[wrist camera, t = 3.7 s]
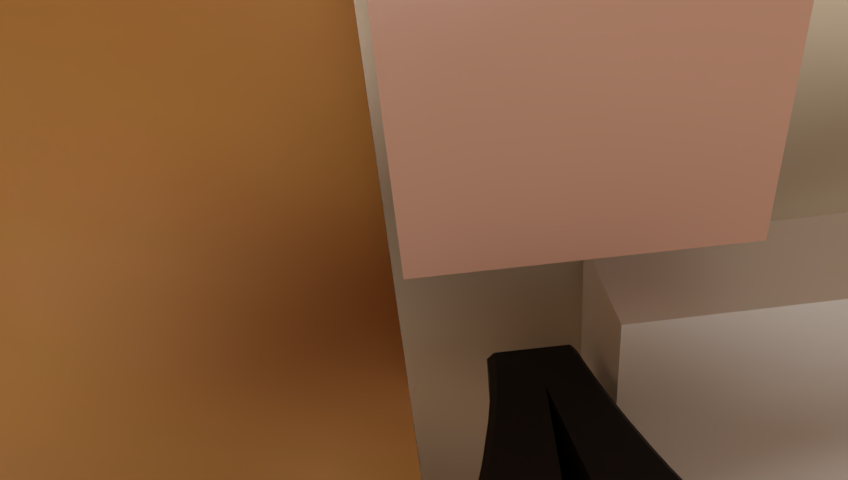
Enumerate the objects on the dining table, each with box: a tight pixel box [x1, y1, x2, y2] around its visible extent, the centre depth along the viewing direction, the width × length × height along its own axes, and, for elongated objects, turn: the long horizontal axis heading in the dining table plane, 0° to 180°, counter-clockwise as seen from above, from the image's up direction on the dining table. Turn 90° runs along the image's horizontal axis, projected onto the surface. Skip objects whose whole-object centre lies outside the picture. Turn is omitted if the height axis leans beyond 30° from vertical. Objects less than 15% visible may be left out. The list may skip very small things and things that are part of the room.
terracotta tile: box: [367, 0, 814, 279], centre depth 8 cm, size 4×4×2 cm
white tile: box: [581, 212, 848, 480], centre depth 11 cm, size 4×4×2 cm
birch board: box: [354, 0, 848, 480], centre depth 12 cm, size 12×10×3 cm
